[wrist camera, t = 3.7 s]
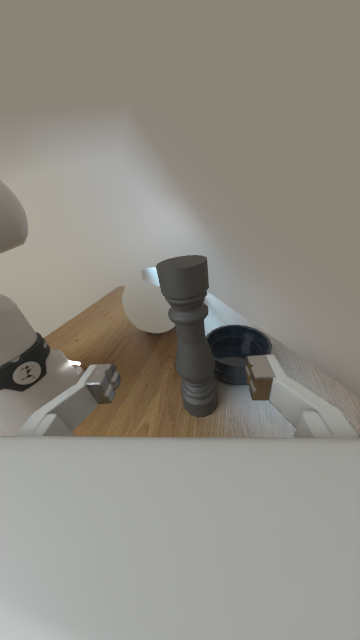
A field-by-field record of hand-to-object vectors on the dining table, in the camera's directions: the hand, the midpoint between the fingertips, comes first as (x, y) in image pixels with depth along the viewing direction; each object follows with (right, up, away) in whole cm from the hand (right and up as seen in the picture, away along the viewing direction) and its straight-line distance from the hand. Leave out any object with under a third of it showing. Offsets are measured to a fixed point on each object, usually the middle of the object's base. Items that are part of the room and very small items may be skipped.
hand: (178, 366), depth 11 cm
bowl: (+12, -6, +28) cm, 31 cm away
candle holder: (+4, -12, +21) cm, 25 cm away
